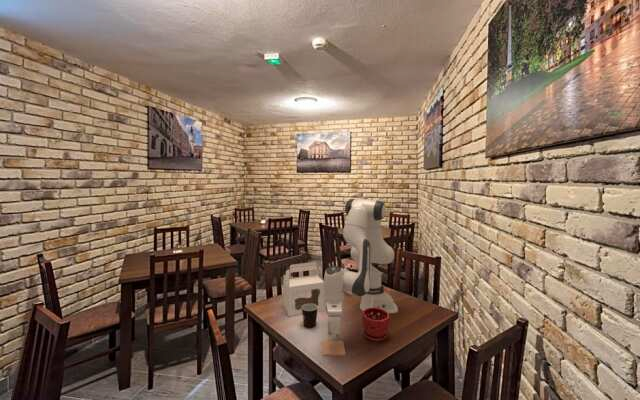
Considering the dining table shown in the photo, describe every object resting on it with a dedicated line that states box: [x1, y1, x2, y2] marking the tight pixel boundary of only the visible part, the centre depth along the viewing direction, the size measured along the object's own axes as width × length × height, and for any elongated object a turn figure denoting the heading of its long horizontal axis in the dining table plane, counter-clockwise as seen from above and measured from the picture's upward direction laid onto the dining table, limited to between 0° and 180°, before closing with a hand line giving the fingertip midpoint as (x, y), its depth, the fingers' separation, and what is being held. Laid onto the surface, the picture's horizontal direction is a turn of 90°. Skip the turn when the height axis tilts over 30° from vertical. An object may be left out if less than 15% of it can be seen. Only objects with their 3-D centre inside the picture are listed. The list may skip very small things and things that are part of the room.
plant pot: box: [361, 308, 390, 342], centre depth 140 cm, size 13×13×12 cm
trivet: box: [321, 340, 346, 357], centre depth 131 cm, size 10×10×1 cm
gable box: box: [282, 261, 325, 317], centre depth 170 cm, size 22×13×28 cm, turn 110°
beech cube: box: [327, 322, 340, 340], centre depth 130 cm, size 5×5×5 cm
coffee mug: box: [301, 304, 318, 329], centre depth 150 cm, size 12×9×10 cm
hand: (333, 332), depth 130 cm, fingers closed on beech cube, 5 cm apart
